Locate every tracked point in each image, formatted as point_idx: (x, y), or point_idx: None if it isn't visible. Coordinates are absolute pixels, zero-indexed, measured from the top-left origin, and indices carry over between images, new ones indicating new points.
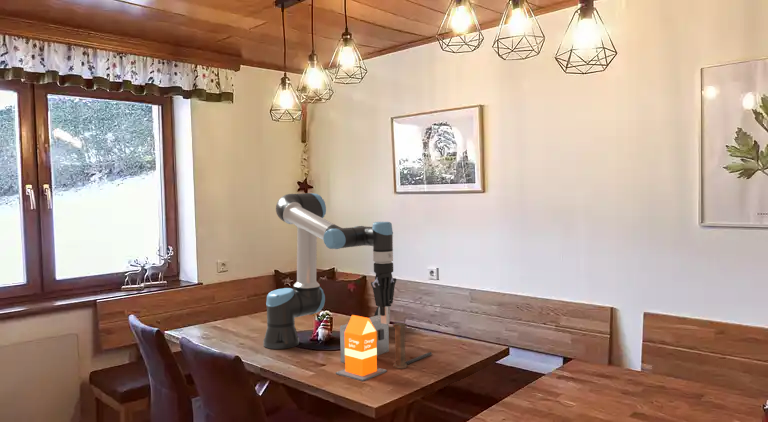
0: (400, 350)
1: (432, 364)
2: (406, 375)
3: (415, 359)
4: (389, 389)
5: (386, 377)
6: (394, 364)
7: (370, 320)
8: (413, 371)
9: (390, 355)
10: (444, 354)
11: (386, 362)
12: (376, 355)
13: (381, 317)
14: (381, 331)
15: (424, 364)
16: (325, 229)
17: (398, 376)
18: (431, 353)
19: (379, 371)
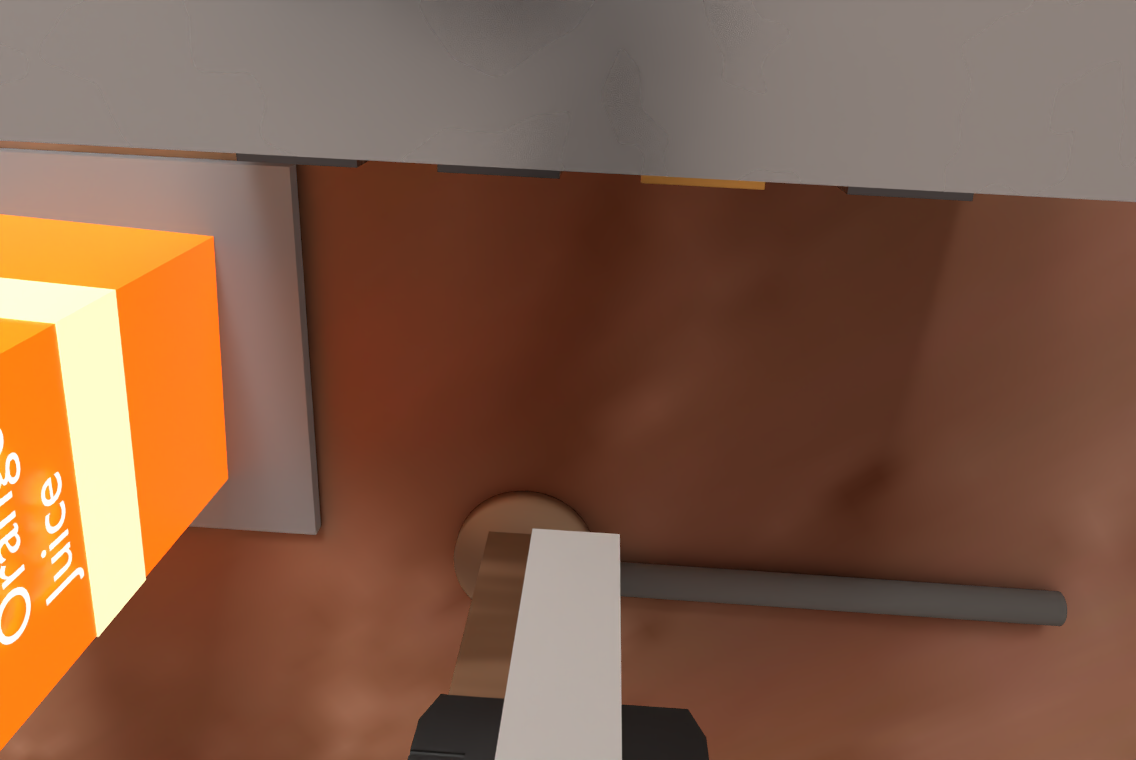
0: None
1: (754, 739)
2: (356, 706)
3: (751, 603)
4: (17, 756)
5: (199, 606)
6: (489, 517)
7: (792, 18)
8: None
9: (826, 242)
10: (1124, 694)
11: (561, 361)
12: (145, 572)
13: (519, 631)
14: (882, 190)
15: (716, 688)
16: None
17: (291, 669)
18: (1048, 623)
19: (233, 507)
